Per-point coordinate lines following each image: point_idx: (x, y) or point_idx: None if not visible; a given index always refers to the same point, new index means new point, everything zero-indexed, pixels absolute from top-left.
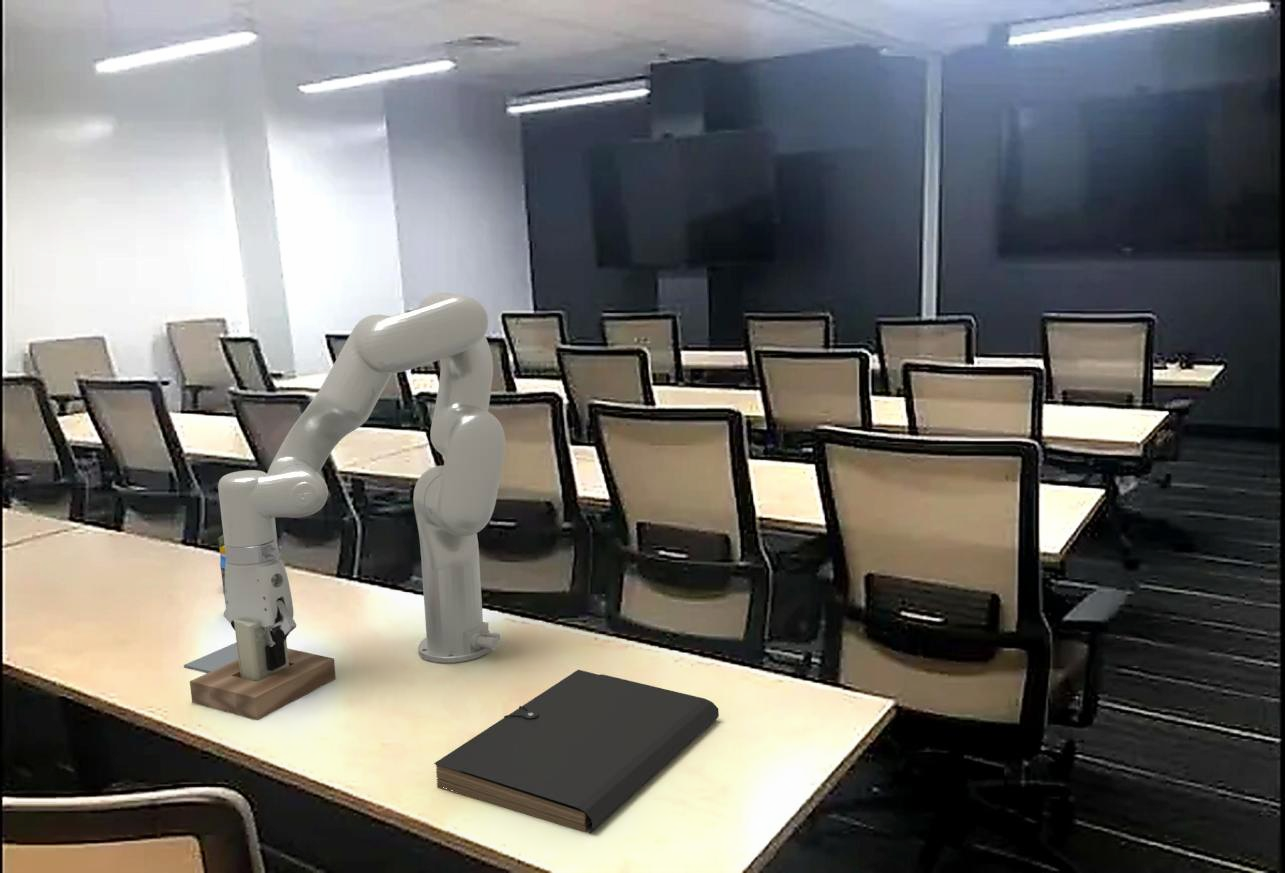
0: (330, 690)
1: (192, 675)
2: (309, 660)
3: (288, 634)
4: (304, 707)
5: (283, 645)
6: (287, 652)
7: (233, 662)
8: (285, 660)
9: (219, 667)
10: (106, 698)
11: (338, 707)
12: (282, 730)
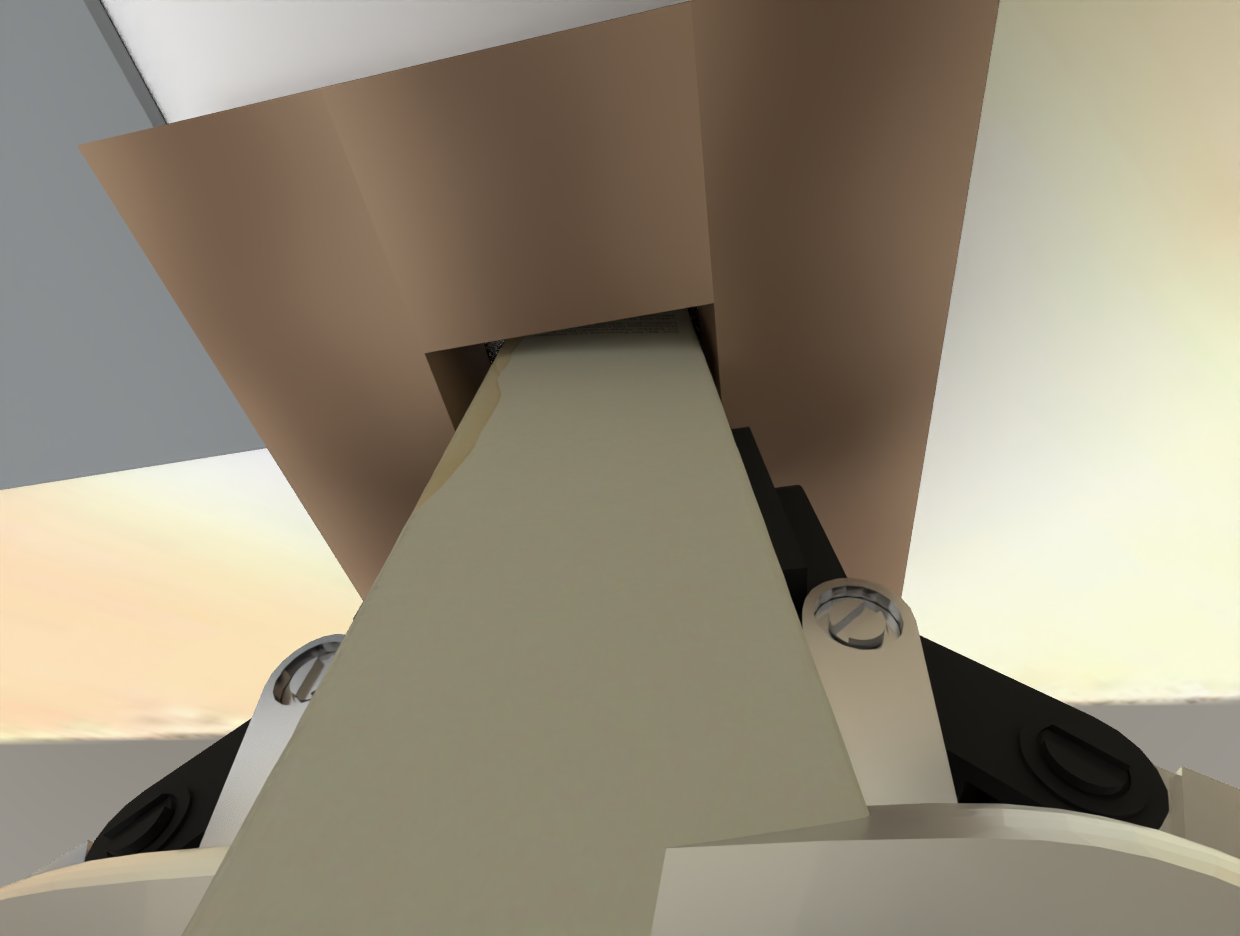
0: (985, 181)
1: (133, 512)
2: (777, 168)
3: (1060, 705)
4: (972, 424)
5: (787, 528)
6: (721, 407)
7: (328, 526)
8: (753, 437)
9: (110, 413)
10: (212, 730)
11: (1188, 320)
12: (1020, 587)
